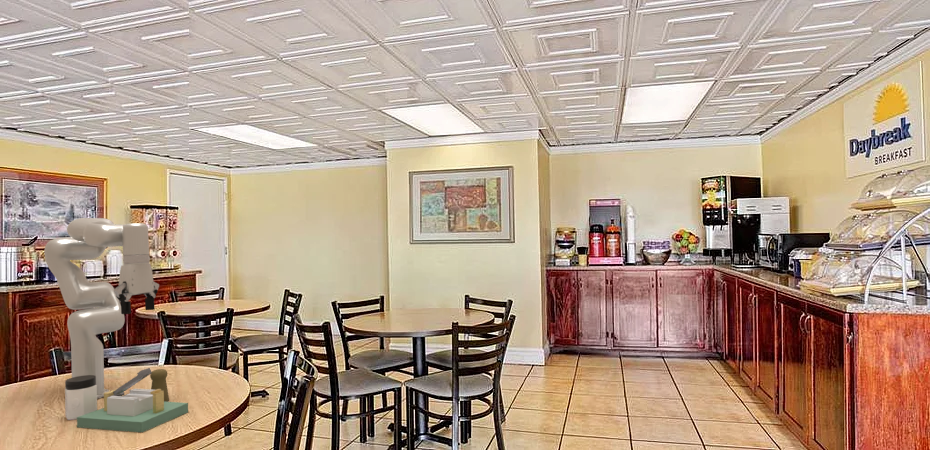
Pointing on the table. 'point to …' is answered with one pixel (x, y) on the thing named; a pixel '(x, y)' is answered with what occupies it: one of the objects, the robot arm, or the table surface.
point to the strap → (133, 381)
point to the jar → (80, 396)
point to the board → (132, 420)
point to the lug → (158, 400)
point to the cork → (160, 382)
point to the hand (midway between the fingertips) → (138, 311)
